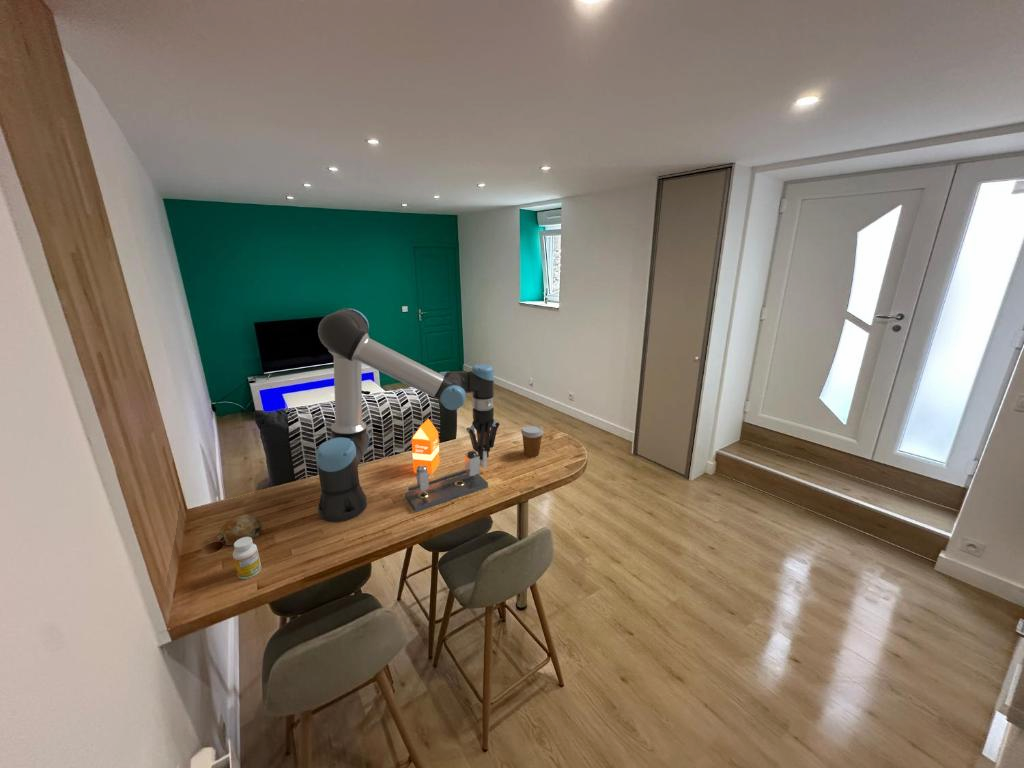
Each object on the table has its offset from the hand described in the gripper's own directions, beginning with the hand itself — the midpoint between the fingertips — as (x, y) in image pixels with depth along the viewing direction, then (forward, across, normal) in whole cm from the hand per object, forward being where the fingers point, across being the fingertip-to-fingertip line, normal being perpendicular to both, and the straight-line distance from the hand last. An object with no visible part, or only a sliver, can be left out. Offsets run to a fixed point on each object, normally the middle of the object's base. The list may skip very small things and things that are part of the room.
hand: (483, 465), depth 150 cm
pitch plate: (+6, -15, 0) cm, 16 cm away
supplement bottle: (+7, -76, -6) cm, 76 cm away
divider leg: (+3, -5, 0) cm, 6 cm away
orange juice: (+7, -14, +20) cm, 26 cm away
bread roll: (+7, -77, +13) cm, 79 cm away
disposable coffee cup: (+6, +28, +7) cm, 30 cm away
